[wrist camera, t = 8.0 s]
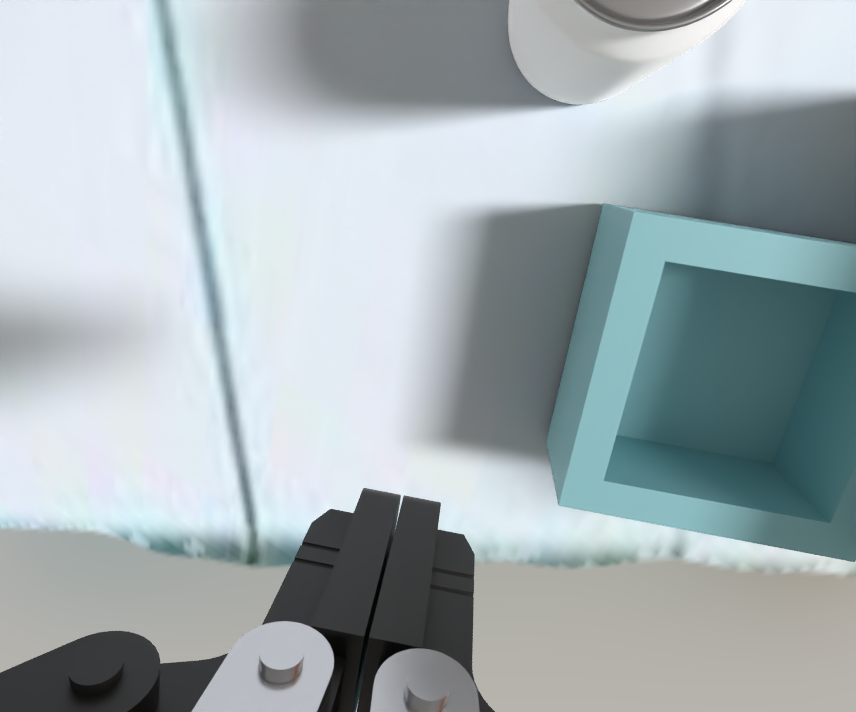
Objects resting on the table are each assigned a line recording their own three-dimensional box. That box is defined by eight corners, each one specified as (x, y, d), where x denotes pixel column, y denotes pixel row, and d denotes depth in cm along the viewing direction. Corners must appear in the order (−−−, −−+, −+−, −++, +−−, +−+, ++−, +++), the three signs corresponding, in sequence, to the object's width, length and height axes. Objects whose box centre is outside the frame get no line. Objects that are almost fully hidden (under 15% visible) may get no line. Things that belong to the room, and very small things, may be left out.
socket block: (546, 441, 30) (558, 505, 24) (603, 203, 26) (633, 211, 20) (783, 485, 29) (854, 561, 23) (877, 247, 25) (989, 269, 20)
